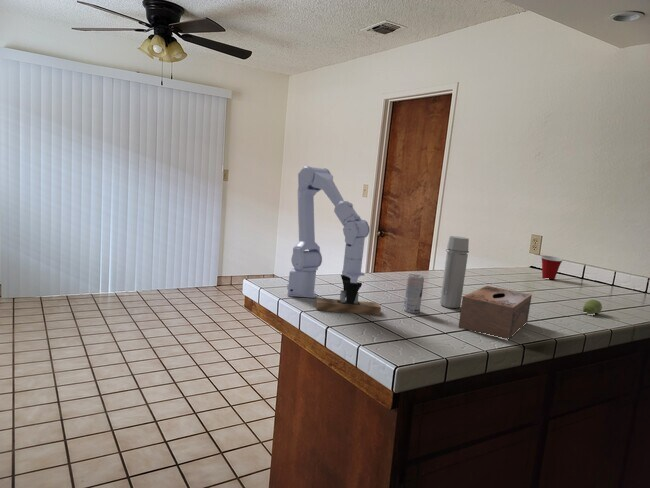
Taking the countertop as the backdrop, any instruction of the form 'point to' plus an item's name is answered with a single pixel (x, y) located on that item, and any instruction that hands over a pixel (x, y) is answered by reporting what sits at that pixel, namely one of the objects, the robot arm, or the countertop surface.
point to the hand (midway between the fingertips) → (348, 300)
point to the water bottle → (454, 272)
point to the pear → (592, 306)
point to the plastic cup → (550, 266)
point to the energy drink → (413, 293)
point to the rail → (348, 306)
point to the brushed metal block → (343, 297)
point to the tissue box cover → (494, 311)
